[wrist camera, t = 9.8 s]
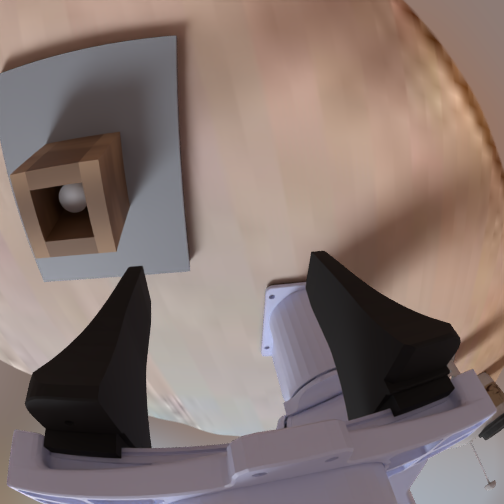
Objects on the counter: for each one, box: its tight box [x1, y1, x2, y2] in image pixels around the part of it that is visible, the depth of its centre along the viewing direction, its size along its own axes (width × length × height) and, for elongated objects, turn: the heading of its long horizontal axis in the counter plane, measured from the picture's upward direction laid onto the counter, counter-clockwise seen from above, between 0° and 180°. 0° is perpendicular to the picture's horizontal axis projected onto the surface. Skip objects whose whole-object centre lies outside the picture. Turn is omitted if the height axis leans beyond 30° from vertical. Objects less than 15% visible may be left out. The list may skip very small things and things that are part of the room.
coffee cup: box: [478, 372, 504, 440], centre depth 53 cm, size 11×11×15 cm
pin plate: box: [0, 36, 190, 282], centre depth 17 cm, size 16×12×4 cm
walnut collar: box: [10, 132, 130, 259], centre depth 16 cm, size 5×5×5 cm
